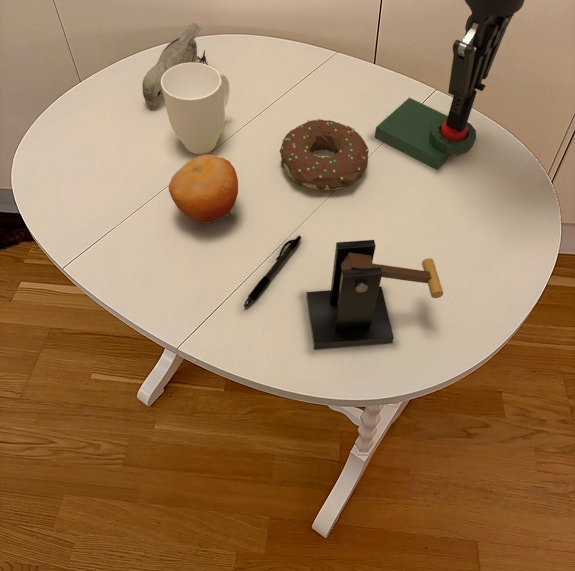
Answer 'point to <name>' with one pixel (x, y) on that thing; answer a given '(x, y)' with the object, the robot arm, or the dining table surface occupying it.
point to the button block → (422, 134)
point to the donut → (326, 169)
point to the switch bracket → (350, 304)
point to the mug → (196, 104)
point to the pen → (272, 270)
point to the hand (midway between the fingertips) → (455, 125)
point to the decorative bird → (171, 63)
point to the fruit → (205, 188)
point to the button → (453, 133)
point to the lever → (398, 271)
